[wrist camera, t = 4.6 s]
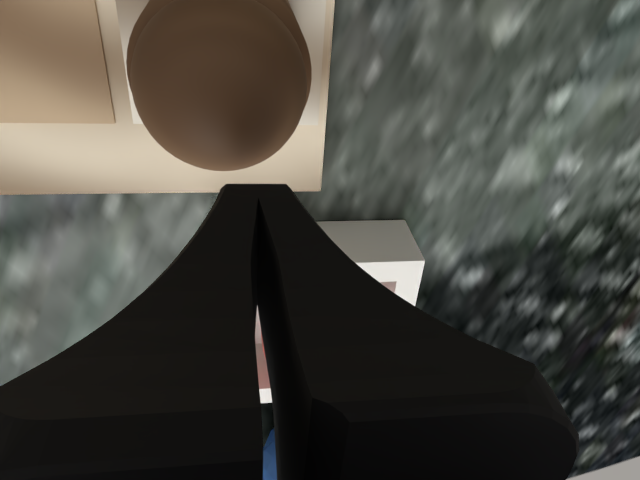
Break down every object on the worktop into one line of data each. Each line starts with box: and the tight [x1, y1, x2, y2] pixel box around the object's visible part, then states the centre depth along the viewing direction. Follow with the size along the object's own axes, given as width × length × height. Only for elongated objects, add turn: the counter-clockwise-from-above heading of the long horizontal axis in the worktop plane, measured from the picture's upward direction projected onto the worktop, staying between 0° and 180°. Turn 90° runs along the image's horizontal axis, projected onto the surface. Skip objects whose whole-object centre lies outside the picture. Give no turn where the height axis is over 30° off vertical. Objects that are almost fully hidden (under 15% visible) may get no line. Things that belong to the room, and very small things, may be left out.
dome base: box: [255, 220, 425, 403], centre depth 24 cm, size 8×8×3 cm
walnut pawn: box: [126, 0, 312, 171], centre depth 14 cm, size 4×4×7 cm
